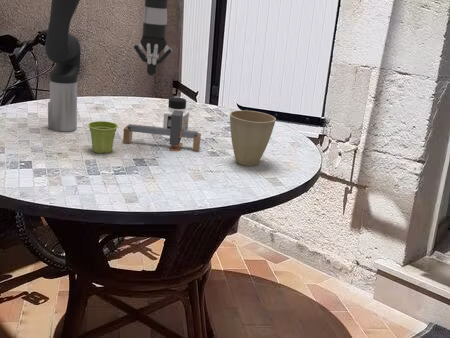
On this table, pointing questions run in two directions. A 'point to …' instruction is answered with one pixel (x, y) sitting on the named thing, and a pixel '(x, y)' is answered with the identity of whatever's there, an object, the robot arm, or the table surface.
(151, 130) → the rail
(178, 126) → the collar
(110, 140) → the plant pot
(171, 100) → the container
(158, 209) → the table surface
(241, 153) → the plant pot
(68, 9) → the robot arm
